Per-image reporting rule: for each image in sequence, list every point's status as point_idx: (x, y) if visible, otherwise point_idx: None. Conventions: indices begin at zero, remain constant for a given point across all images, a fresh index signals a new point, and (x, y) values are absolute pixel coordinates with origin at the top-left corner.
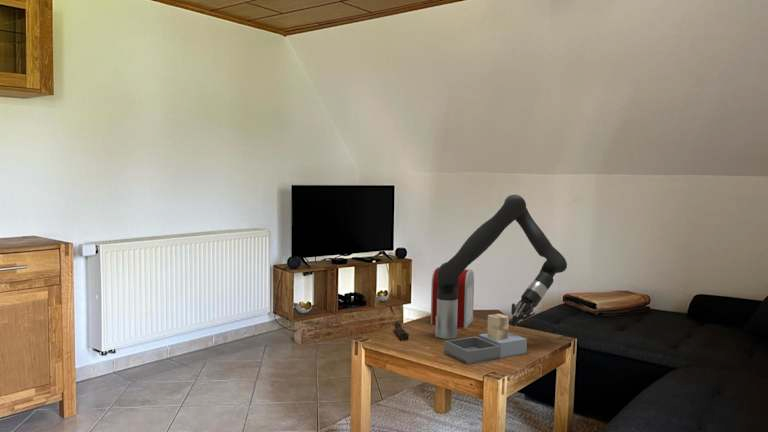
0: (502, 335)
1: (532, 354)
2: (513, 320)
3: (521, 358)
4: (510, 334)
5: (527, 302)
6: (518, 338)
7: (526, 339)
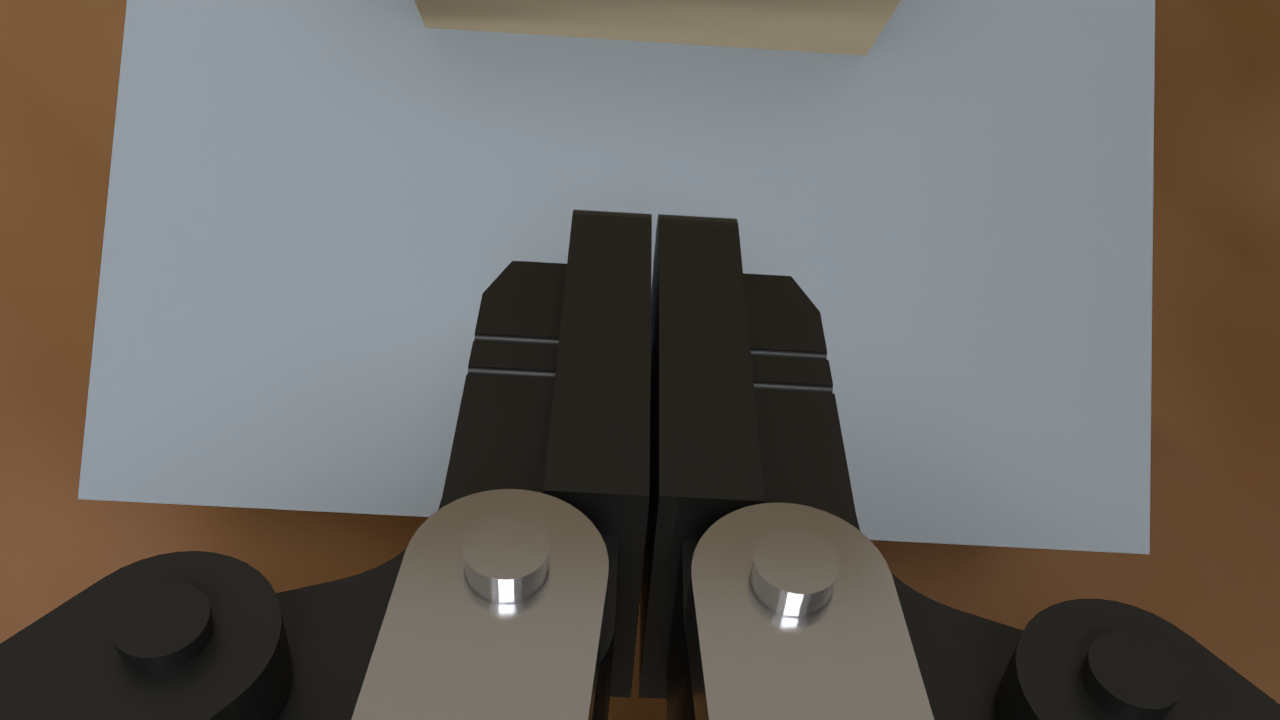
0: None
1: (91, 549)
2: (562, 308)
3: (18, 122)
4: None
5: None
6: (252, 296)
7: (88, 482)
